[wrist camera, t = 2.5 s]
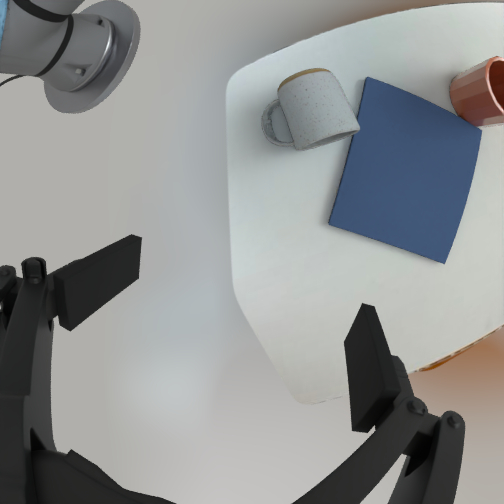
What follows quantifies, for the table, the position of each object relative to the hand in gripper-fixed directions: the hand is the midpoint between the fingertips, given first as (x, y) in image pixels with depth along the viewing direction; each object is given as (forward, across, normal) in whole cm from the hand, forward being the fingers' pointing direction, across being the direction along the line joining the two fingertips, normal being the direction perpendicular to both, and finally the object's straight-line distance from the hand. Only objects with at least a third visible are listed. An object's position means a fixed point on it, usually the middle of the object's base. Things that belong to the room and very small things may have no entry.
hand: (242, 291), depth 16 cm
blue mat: (+23, +15, +11) cm, 29 cm away
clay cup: (+23, +22, +24) cm, 40 cm away
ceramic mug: (+23, 0, +13) cm, 26 cm away
